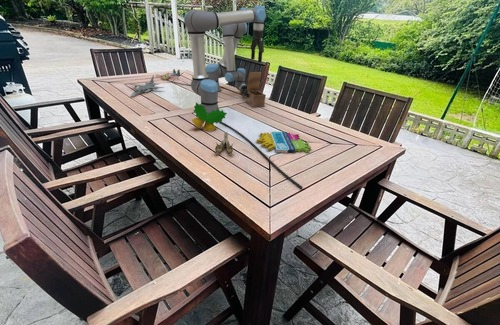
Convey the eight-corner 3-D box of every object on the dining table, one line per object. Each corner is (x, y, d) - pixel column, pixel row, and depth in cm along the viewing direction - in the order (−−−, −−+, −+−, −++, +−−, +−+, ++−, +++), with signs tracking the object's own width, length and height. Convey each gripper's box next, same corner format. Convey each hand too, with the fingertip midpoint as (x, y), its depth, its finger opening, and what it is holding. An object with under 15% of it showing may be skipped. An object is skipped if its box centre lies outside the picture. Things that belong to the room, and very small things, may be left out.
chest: (264, 106, 212) (265, 94, 208) (253, 107, 209) (253, 95, 204) (257, 101, 223) (258, 90, 219) (246, 102, 220) (247, 90, 215)
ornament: (218, 133, 171) (224, 110, 169) (221, 134, 163) (227, 111, 161) (186, 125, 162) (192, 101, 160) (189, 126, 155) (195, 101, 153)
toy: (188, 70, 290) (175, 74, 264) (188, 76, 294) (176, 81, 268) (165, 67, 295) (150, 71, 269) (166, 74, 299) (151, 78, 273)
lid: (261, 72, 209) (257, 68, 215) (250, 72, 205) (246, 68, 211) (258, 90, 218) (254, 85, 224) (247, 90, 214) (243, 85, 220)
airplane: (124, 87, 237) (122, 75, 232) (159, 84, 250) (158, 74, 245) (128, 99, 208) (126, 87, 203) (168, 96, 222) (167, 84, 217)
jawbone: (234, 135, 144) (233, 125, 135) (233, 160, 138) (232, 151, 129) (217, 135, 144) (216, 125, 135) (216, 160, 138) (214, 150, 129)
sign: (313, 150, 142) (258, 149, 139) (312, 153, 143) (258, 152, 140) (301, 132, 164) (254, 130, 161) (301, 134, 165) (254, 133, 162)
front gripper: (270, 31, 185) (267, 63, 195) (256, 29, 204) (254, 58, 215) (260, 31, 182) (258, 63, 192) (247, 28, 202) (245, 58, 212)
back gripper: (255, 92, 239) (266, 99, 221) (232, 93, 231) (241, 100, 213) (256, 84, 235) (267, 90, 218) (232, 85, 227) (241, 91, 209)
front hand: (256, 60), depth 203 cm, fingers open, 13 cm apart
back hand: (254, 95), depth 215 cm, fingers closed on chest, 10 cm apart
